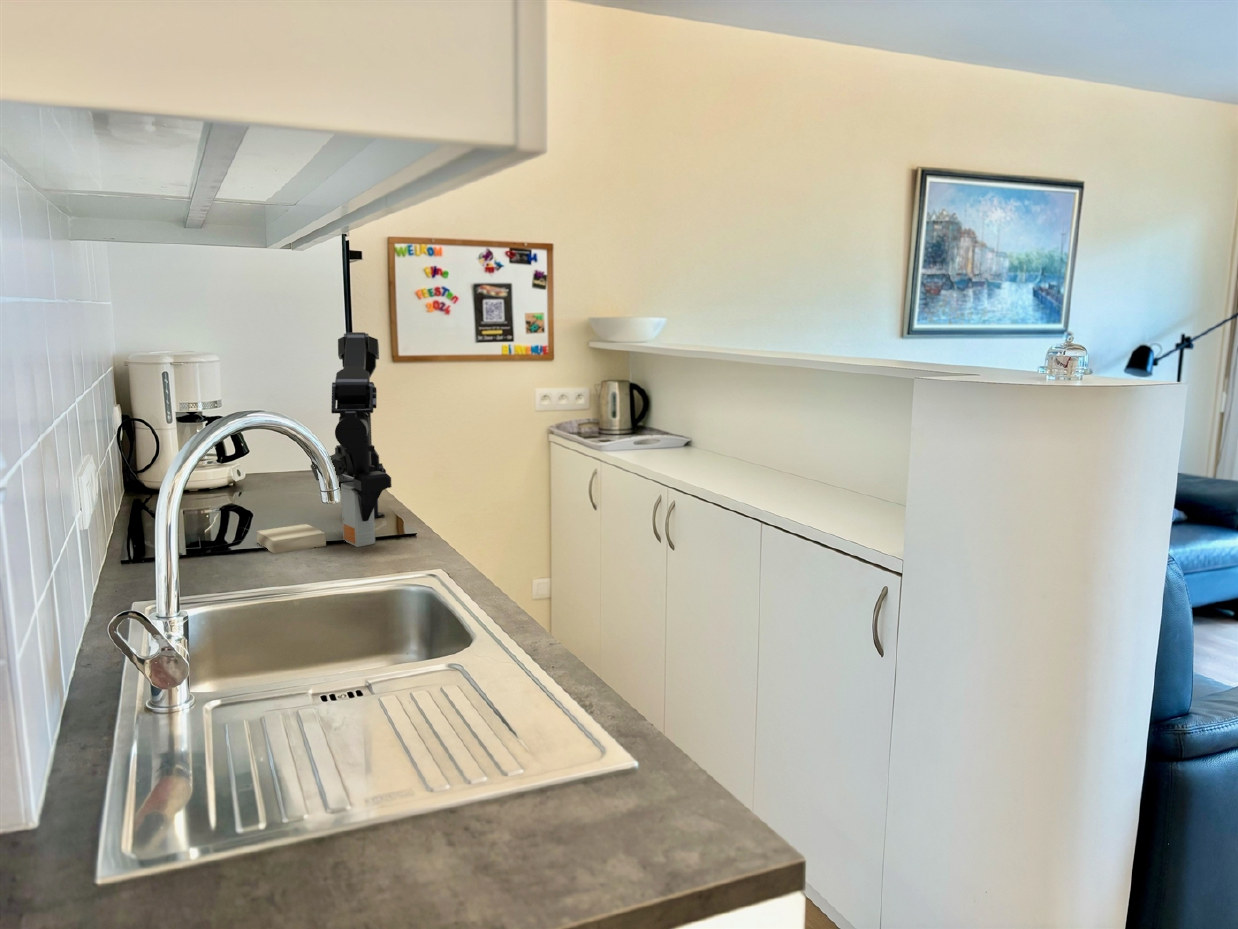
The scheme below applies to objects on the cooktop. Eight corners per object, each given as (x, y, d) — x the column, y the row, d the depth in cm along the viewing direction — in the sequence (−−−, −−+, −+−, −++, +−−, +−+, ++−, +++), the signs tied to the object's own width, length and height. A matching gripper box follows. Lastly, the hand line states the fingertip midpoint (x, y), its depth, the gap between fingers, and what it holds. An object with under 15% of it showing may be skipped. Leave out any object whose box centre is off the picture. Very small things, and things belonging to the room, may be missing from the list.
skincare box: (342, 541, 181) (339, 482, 179) (362, 538, 183) (359, 480, 181) (356, 547, 176) (353, 487, 174) (376, 544, 179) (374, 484, 177)
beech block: (257, 545, 179) (256, 530, 178) (306, 538, 185) (306, 523, 185) (274, 556, 171) (273, 540, 171) (326, 547, 177) (325, 533, 177)
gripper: (296, 438, 178) (300, 515, 181) (334, 450, 164) (338, 533, 167) (349, 433, 185) (353, 508, 188) (391, 444, 171) (394, 524, 174)
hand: (358, 518), depth 179 cm, fingers closed on skincare box, 6 cm apart
